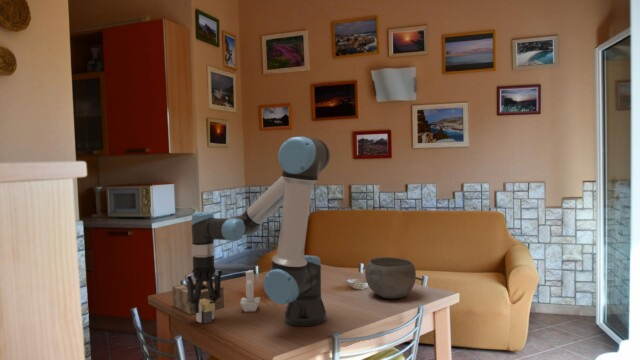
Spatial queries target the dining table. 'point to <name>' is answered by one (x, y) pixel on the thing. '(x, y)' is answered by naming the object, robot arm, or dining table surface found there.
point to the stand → (206, 317)
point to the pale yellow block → (207, 305)
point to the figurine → (249, 294)
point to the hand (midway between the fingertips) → (205, 319)
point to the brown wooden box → (182, 303)
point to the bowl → (390, 276)
